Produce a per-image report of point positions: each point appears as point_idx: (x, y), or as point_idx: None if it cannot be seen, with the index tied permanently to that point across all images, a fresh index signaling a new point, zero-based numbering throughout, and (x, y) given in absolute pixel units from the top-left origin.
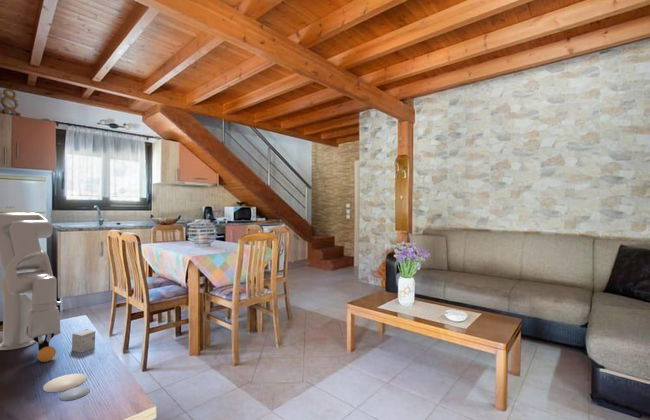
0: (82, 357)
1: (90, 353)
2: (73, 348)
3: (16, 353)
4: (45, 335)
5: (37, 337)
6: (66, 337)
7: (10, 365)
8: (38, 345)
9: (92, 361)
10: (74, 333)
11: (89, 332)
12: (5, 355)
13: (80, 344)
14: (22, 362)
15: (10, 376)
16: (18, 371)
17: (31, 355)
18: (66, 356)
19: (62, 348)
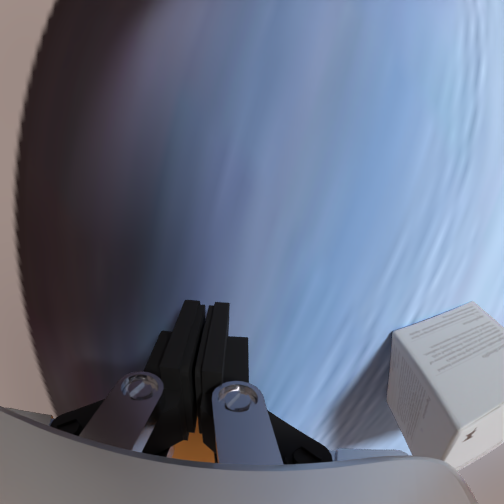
0: (348, 446)
1: (395, 426)
2: (396, 360)
3: (89, 39)
4: (217, 447)
5: (100, 441)
6: (467, 8)
7: (36, 284)
8: (149, 359)
9: None
10: (463, 436)
11: (484, 454)
12: (40, 39)
13: (404, 436)
14: (86, 294)
15: (65, 410)
16: (83, 396)
17: (149, 187)
18: (316, 402)
19: (384, 231)
